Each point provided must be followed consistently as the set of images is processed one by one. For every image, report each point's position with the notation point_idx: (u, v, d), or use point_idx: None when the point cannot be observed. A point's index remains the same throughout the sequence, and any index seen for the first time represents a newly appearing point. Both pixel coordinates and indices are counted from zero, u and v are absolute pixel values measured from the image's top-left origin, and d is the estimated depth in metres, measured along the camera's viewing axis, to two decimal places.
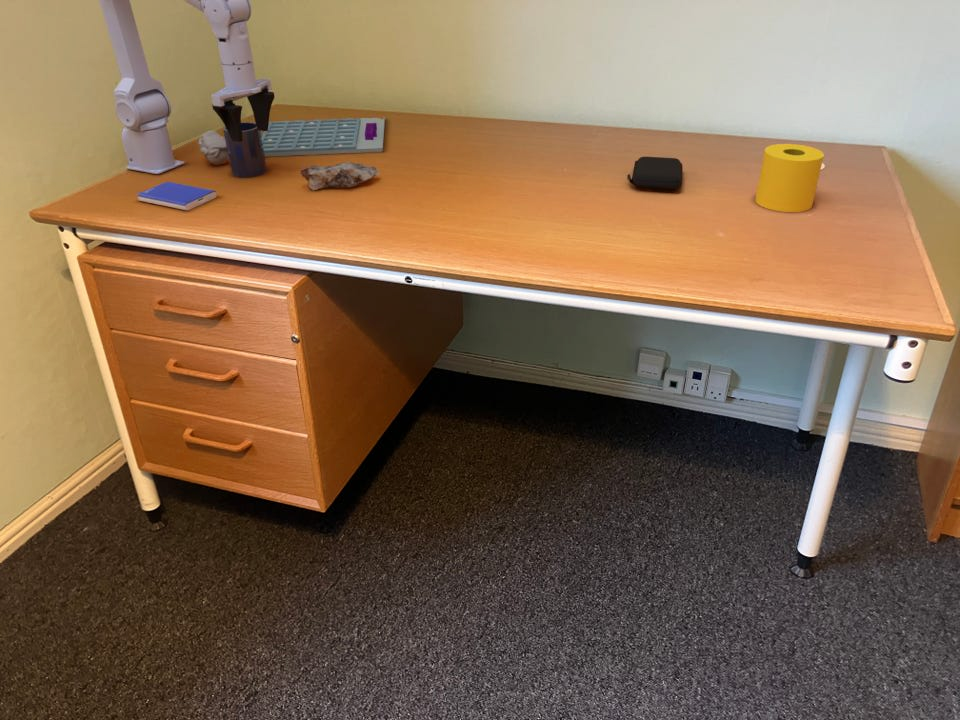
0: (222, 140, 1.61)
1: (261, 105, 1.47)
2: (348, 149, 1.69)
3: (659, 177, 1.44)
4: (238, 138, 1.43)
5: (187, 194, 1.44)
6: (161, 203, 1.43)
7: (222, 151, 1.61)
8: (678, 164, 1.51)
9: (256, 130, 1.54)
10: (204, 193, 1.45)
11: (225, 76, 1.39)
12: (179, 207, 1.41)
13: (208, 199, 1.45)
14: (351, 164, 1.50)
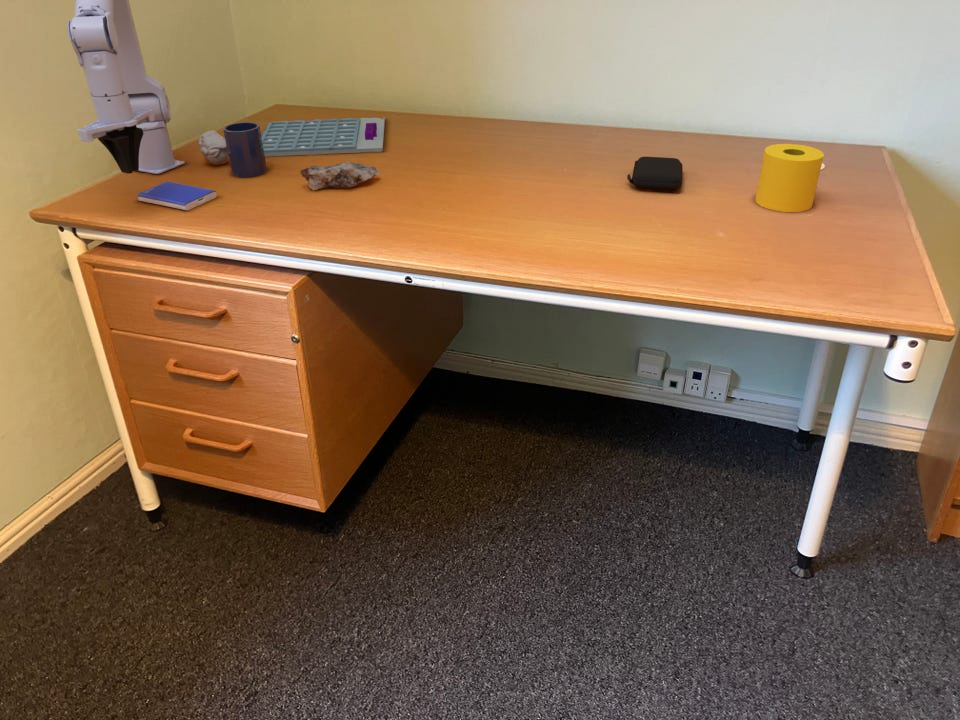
0: (222, 140, 1.61)
1: (128, 143, 1.32)
2: (348, 149, 1.69)
3: (659, 177, 1.44)
4: (127, 170, 1.33)
5: (187, 194, 1.44)
6: (161, 203, 1.43)
7: (222, 151, 1.61)
8: (678, 164, 1.51)
9: (256, 130, 1.54)
10: (204, 193, 1.45)
11: (95, 108, 1.27)
12: (179, 207, 1.41)
13: (208, 199, 1.45)
14: (351, 164, 1.50)
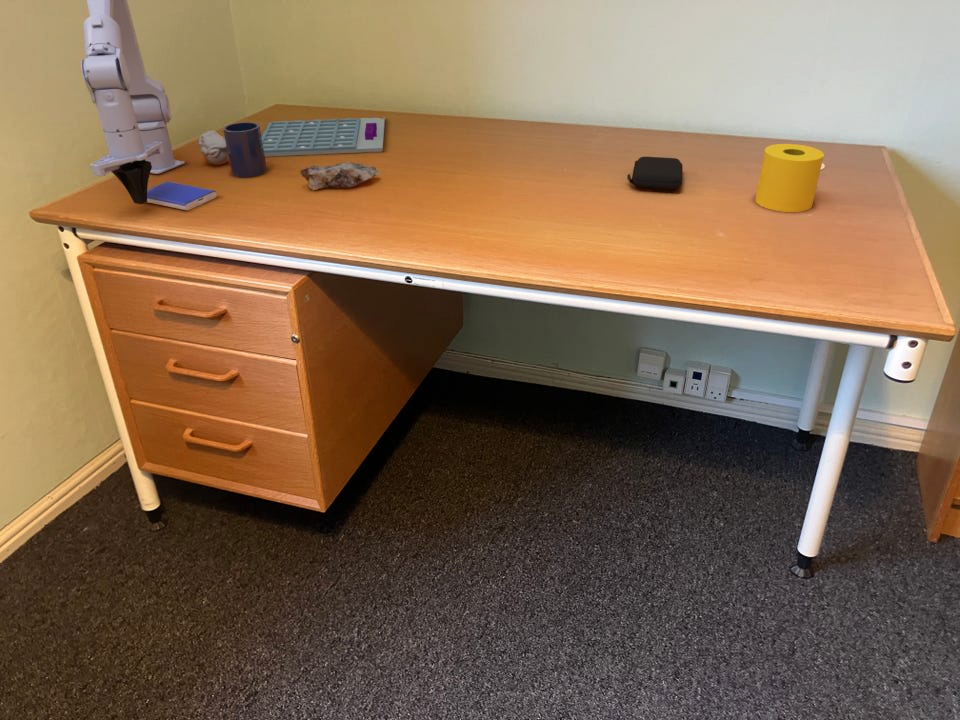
0: (222, 140, 1.61)
1: None
2: (348, 149, 1.69)
3: (659, 177, 1.44)
4: (140, 200, 1.37)
5: (187, 194, 1.44)
6: (161, 203, 1.43)
7: (222, 151, 1.61)
8: (678, 164, 1.51)
9: (256, 130, 1.54)
10: (204, 193, 1.45)
11: (107, 143, 1.31)
12: (179, 207, 1.41)
13: (208, 199, 1.45)
14: (351, 164, 1.50)
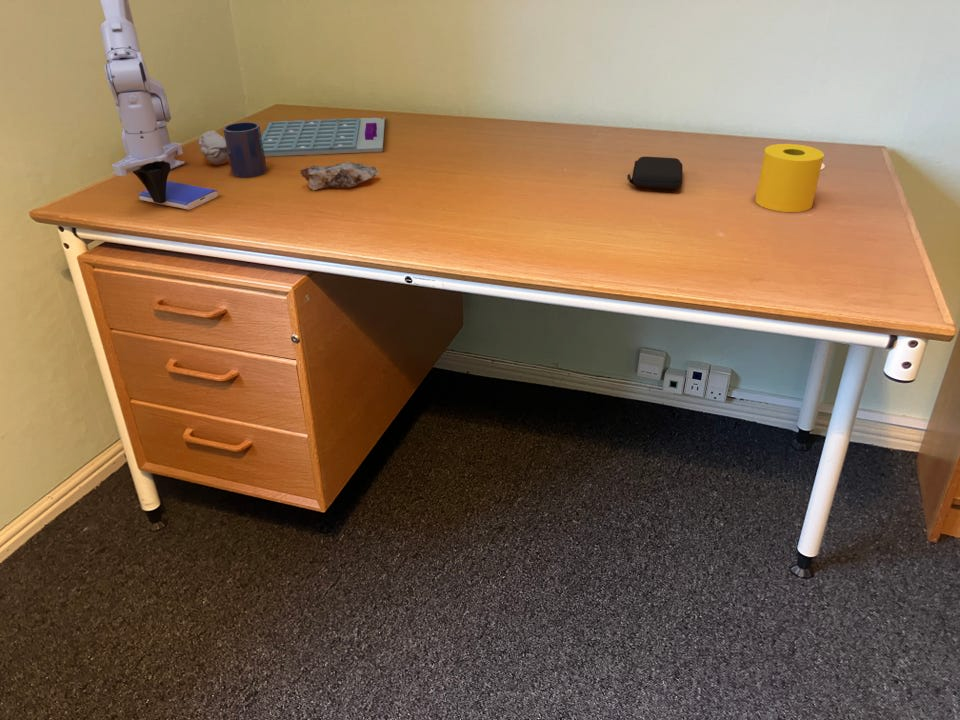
0: (222, 140, 1.61)
1: None
2: (348, 149, 1.69)
3: (659, 177, 1.44)
4: (159, 200, 1.41)
5: (189, 193, 1.45)
6: None
7: (222, 151, 1.61)
8: (678, 164, 1.51)
9: (256, 130, 1.54)
10: (206, 192, 1.45)
11: (128, 144, 1.35)
12: (181, 206, 1.42)
13: (209, 199, 1.45)
14: (351, 164, 1.50)
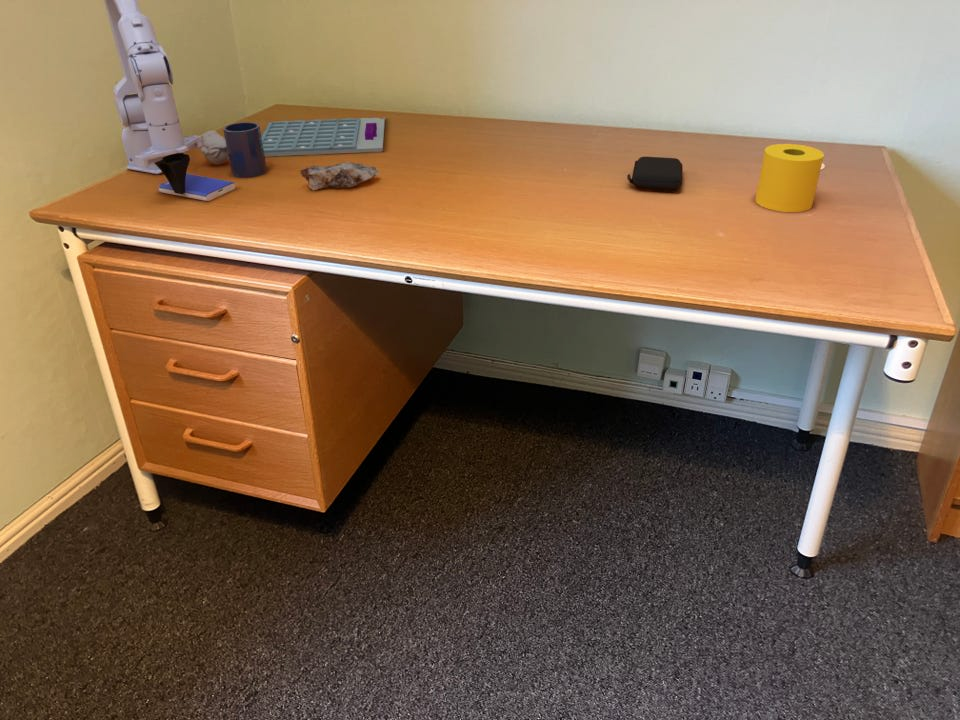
0: (222, 140, 1.61)
1: None
2: (348, 149, 1.69)
3: (659, 177, 1.44)
4: (180, 191, 1.45)
5: (207, 185, 1.48)
6: (182, 194, 1.47)
7: (222, 151, 1.61)
8: (678, 164, 1.51)
9: (256, 130, 1.54)
10: (223, 184, 1.49)
11: (150, 136, 1.38)
12: (200, 198, 1.45)
13: (227, 190, 1.49)
14: (351, 164, 1.50)
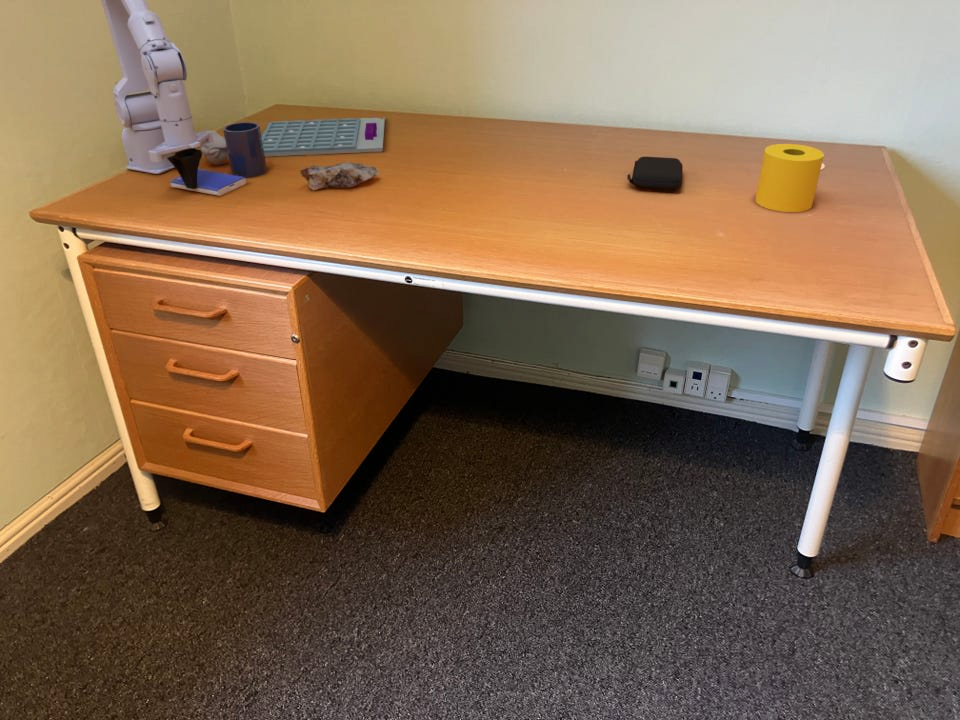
0: (222, 140, 1.61)
1: None
2: (348, 149, 1.69)
3: (659, 177, 1.44)
4: (192, 185, 1.48)
5: (219, 180, 1.51)
6: (194, 189, 1.49)
7: (222, 151, 1.61)
8: (678, 164, 1.51)
9: (256, 130, 1.54)
10: (235, 179, 1.51)
11: (163, 132, 1.41)
12: (212, 193, 1.48)
13: (238, 185, 1.51)
14: (351, 164, 1.50)
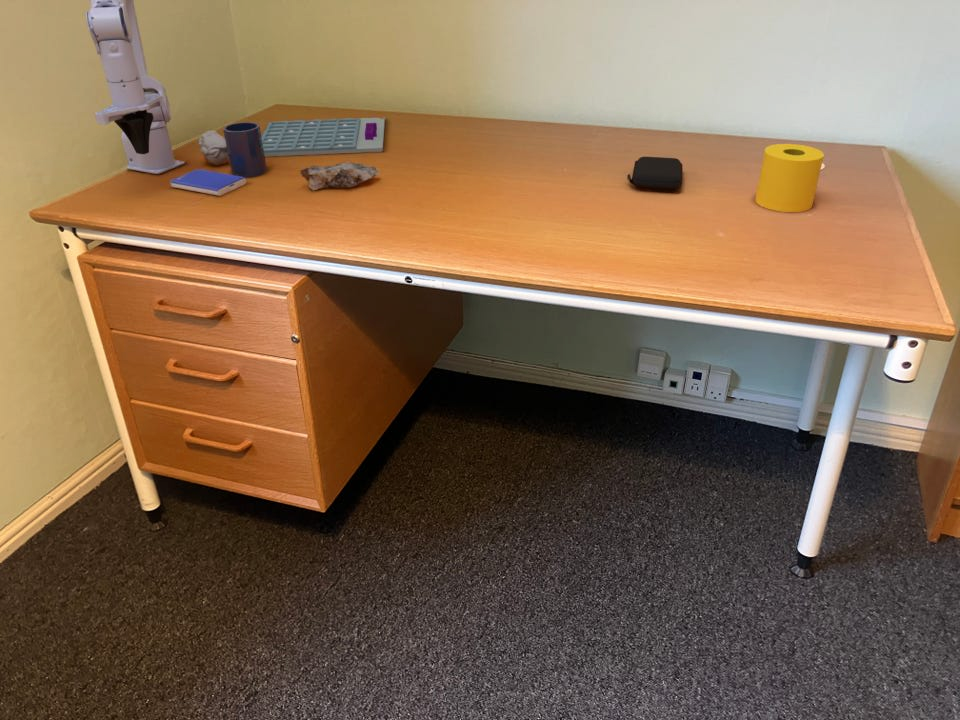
0: (222, 140, 1.61)
1: None
2: (348, 149, 1.69)
3: (659, 177, 1.44)
4: (142, 151, 1.43)
5: (219, 180, 1.51)
6: (194, 189, 1.49)
7: (222, 151, 1.61)
8: (678, 164, 1.51)
9: (256, 130, 1.54)
10: (235, 179, 1.51)
11: (111, 93, 1.37)
12: (212, 192, 1.48)
13: (238, 185, 1.51)
14: (351, 164, 1.50)
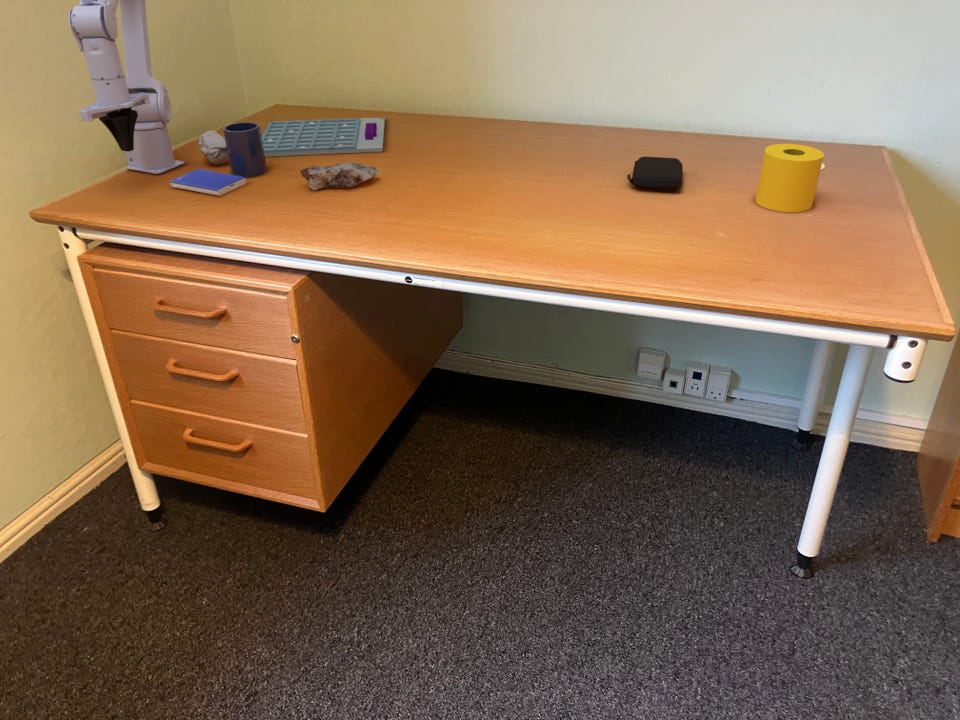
0: (222, 140, 1.61)
1: None
2: (348, 149, 1.69)
3: (659, 177, 1.44)
4: (126, 148, 1.44)
5: (219, 180, 1.51)
6: (194, 189, 1.49)
7: (222, 151, 1.61)
8: (678, 164, 1.51)
9: (256, 130, 1.54)
10: (235, 179, 1.51)
11: (95, 91, 1.38)
12: (212, 192, 1.48)
13: (238, 185, 1.51)
14: (351, 164, 1.50)
